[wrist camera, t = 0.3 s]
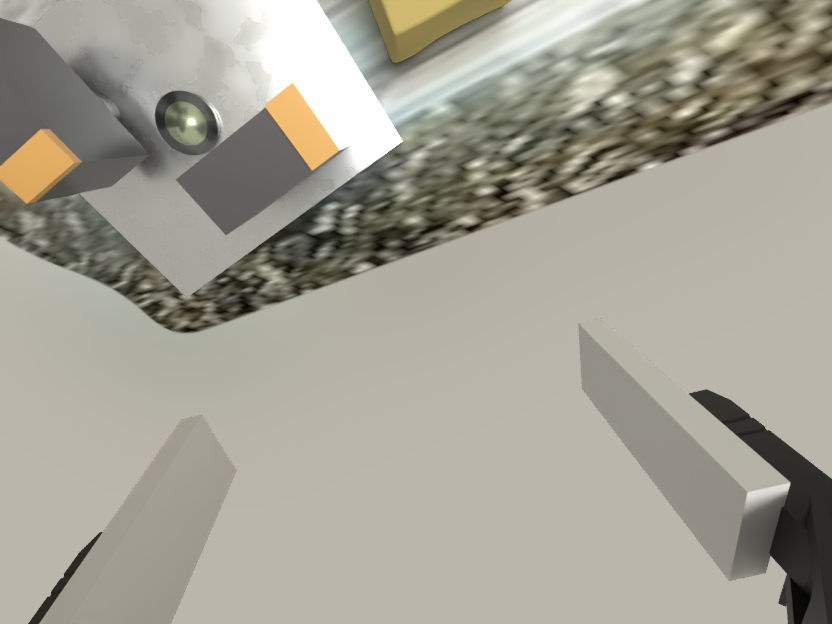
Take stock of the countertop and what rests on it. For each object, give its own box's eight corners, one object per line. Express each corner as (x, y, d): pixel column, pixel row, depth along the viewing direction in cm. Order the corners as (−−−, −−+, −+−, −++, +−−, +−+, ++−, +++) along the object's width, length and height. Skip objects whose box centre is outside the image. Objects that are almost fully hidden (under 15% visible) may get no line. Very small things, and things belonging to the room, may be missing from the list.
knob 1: (26, 73, 28) (-150, 44, 19) (64, 36, 27) (-100, -12, 18) (131, 182, 31) (26, 203, 22) (167, 153, 31) (74, 162, 21)
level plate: (-5, 90, 30) (-39, 87, 27) (230, -138, 25) (214, -166, 23) (196, 289, 37) (183, 300, 35) (401, 140, 33) (402, 141, 31)
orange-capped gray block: (267, 208, 33) (222, 237, 24) (232, 166, 31) (170, 180, 22) (352, 144, 31) (339, 150, 22) (320, 97, 30) (292, 82, 21)
